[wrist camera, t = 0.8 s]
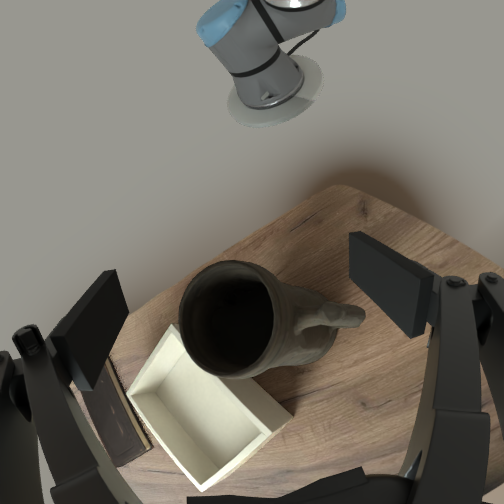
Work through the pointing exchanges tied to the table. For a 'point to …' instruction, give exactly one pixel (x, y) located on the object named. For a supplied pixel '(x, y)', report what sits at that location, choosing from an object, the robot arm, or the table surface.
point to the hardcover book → (115, 418)
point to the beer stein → (256, 321)
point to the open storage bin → (203, 413)
